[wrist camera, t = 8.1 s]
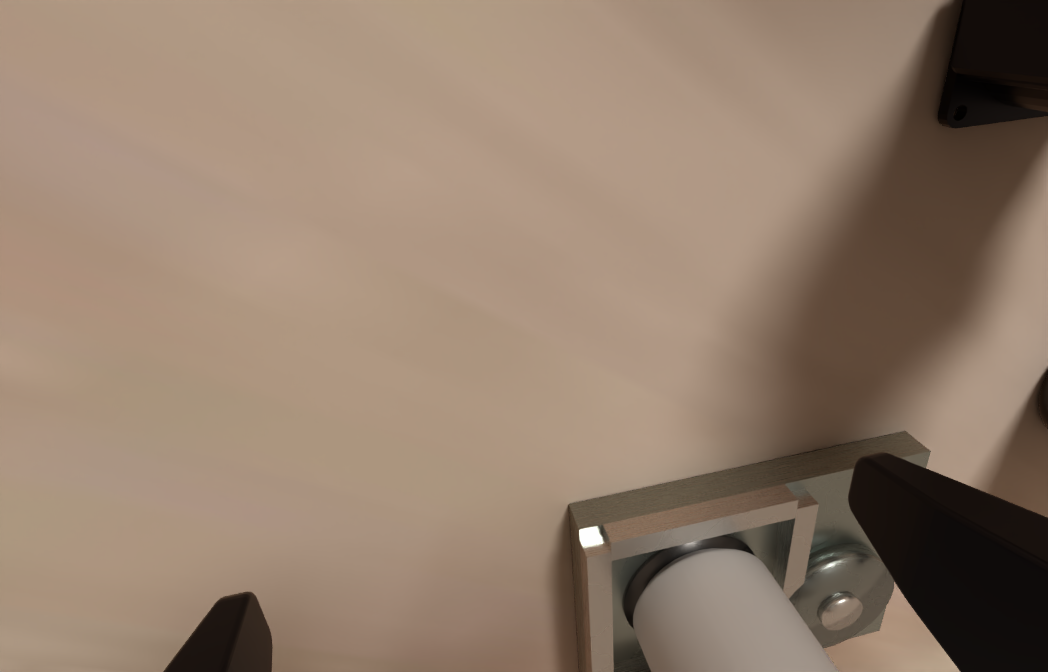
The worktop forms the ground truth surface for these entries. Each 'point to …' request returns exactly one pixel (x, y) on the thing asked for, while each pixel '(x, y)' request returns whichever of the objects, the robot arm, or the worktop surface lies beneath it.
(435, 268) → the worktop surface
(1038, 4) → the robot arm
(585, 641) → the grey flat piece
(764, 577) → the beverage can
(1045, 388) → the supplement bottle
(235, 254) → the worktop surface
